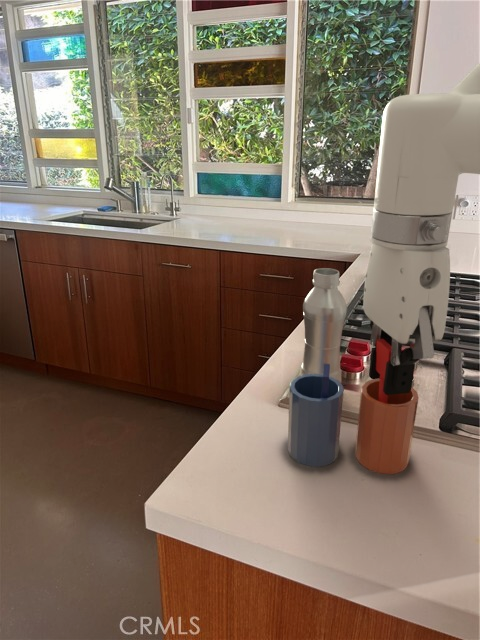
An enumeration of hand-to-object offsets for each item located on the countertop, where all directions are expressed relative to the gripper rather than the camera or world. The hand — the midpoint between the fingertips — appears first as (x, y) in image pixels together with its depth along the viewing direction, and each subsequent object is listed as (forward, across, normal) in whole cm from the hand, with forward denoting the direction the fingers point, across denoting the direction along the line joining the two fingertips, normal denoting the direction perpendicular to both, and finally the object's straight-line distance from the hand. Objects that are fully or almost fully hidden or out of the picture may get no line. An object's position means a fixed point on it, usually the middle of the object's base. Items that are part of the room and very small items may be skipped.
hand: (389, 383), depth 54 cm
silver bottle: (+11, +17, +2) cm, 21 cm away
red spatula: (+11, 0, 0) cm, 11 cm away
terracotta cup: (+11, 0, 0) cm, 11 cm away
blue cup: (+11, +3, +8) cm, 14 cm away
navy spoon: (+11, +3, +6) cm, 13 cm away
